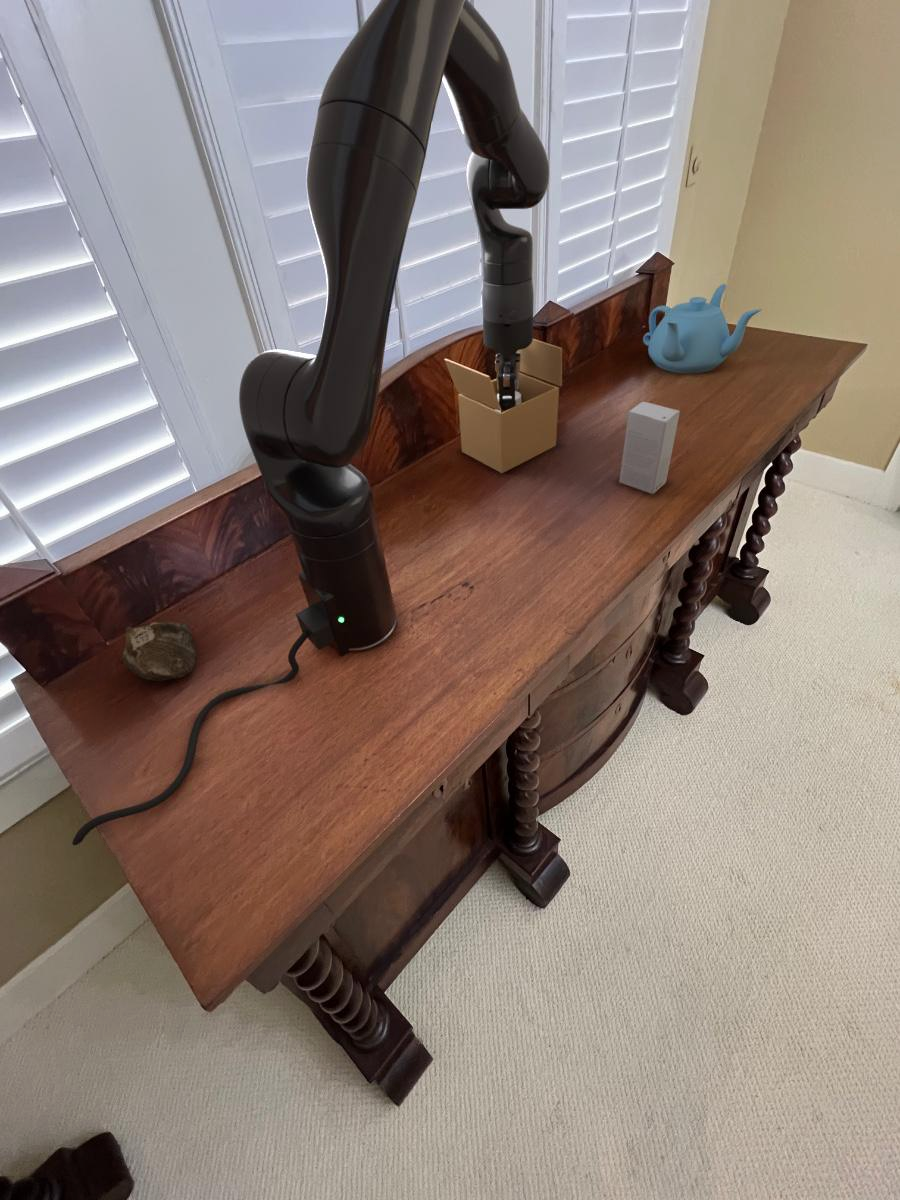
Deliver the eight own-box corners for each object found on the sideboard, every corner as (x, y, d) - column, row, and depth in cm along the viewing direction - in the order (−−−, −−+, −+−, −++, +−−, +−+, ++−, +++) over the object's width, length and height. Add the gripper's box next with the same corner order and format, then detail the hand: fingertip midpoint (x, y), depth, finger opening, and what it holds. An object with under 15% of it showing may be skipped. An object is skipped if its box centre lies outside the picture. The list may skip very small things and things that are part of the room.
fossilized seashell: (118, 631, 72) (119, 699, 66) (127, 595, 68) (128, 664, 62) (184, 634, 76) (190, 698, 70) (196, 600, 72) (203, 665, 67)
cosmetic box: (666, 483, 91) (681, 410, 83) (652, 495, 89) (666, 422, 81) (631, 471, 94) (643, 400, 86) (617, 482, 92) (627, 410, 84)
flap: (501, 409, 89) (499, 411, 89) (458, 390, 95) (457, 391, 95) (489, 376, 84) (488, 377, 84) (445, 358, 90) (444, 359, 90)
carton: (501, 473, 96) (500, 373, 85) (461, 451, 103) (455, 356, 91) (558, 444, 102) (564, 347, 91) (517, 425, 108) (518, 332, 97)
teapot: (748, 372, 117) (766, 307, 109) (657, 383, 117) (669, 318, 108) (711, 342, 130) (725, 281, 121) (629, 352, 129) (637, 291, 121)
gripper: (485, 297, 92) (488, 400, 104) (479, 329, 82) (483, 440, 94) (533, 295, 91) (531, 399, 103) (533, 327, 81) (530, 439, 93)
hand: (508, 418), depth 98 cm, fingers closed on supplement bottle, 4 cm apart
